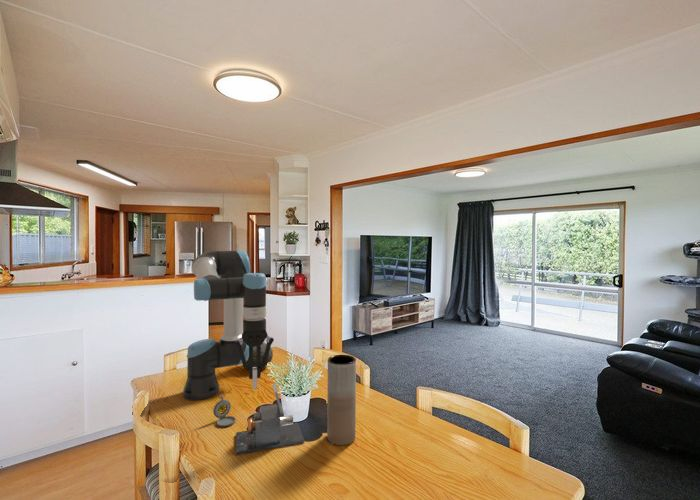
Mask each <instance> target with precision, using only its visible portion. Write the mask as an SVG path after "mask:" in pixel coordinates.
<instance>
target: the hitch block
mask: <svg viewBox="0 0 700 500" xmlns="http://www.w3.org/2000/svg"><path fill="white" fill-rule="evenodd" d="M280 417H281V416H280V412H279V408H278V403H274V404H269V405H263V406H262V405H261V406H259V412H254V413H253V421H257V420H261V422H257V423H255V431H253V434H251V435H248V430H242V431H236V433H235V441H236V442H235V443H236V444H235V446H236V447H235V448H236V449H235V453H236V456H238V455H243V454H250V453H256V452H261V451H262V452H263V451H266V450H267V451H268V450H272V449H278V448H279V449H280V448H283V447H289V446H295V445H300V444H304V443H305V438H304V435H303V433H302V429H301V427H300V424H299V422H293V424H292V425H286V426H280Z"/></svg>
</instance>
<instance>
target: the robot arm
mask: <svg viewBox="0 0 700 500" xmlns="http://www.w3.org/2000/svg"><path fill="white" fill-rule="evenodd" d="M191 268H192V273H193V275H195V276H196V279H195V280H194V281H193V298H194V300H195V301H199V302H200V301H204V302H206V301H218V300H223V334H221V336H220V337H219V341H216V340H215V339H214V338H206V339H201V340H197V341H195V342H193V343H191V344H189V346H188V347H187V351H186V352H187V355H186V358H187V365H186V366H187V367H186V368H187V370H186V371H187V375H186V377H187V378H186V381H185V384H184V386H183V390H182V397H183V398H184V399H185V400H189V401H199V400H206V399H209V398H212V397H214V396H216V395H217V394H219V392H220V384H219V380H218V378H217V376H216V369H220V368H226V367H233V366H239V365H242V367H243V369H247V370H248V378H249V380H251V382H252V385H251V387H252V390H257V389H258V379H261V375H262V374H261V370H262V369H261V368H262V367H263V368H265V367H267V365H266V363H267V359H268V355H269V351H270V347H271V346H272V344H273V342H274V336H270V335H269V334H268V332H267V320H266V317H267V280H266V279H267V277H266V274H265V273H261V272H251V263H250V258H249V255H248V253H247V252H246V251H244V250H211V251H206V252H203V253H201V254H200V255H198V256H197V257H195V259H194V260H193V262H192V264H191ZM265 340H266V348H265V352H264V356H263V360H262V362H261V345H262V343H263V342H264V343H265ZM253 346H257V367H253ZM271 348H272V347H271ZM248 357H249V364H247V360H248Z"/></svg>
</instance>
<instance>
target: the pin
mask: <svg viewBox="0 0 700 500" xmlns="http://www.w3.org/2000/svg"><path fill="white" fill-rule="evenodd" d="M257 422H261V420H257V421H254V418H252V417H249V418H247V431H248V435H251V434H253V431H255V423H257ZM293 423H294V415H293V414H290V415H284V416H282V417H281V416H280V426H286V425H292V424H293Z"/></svg>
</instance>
